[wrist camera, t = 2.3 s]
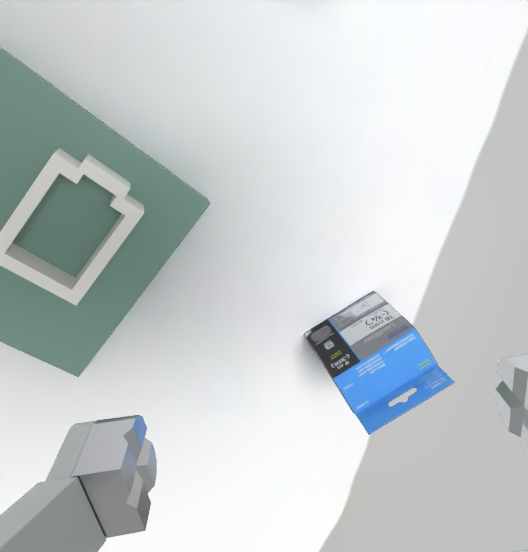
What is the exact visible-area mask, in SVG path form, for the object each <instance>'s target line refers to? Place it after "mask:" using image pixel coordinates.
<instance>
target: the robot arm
mask: <svg viewBox="0 0 528 552" xmlns="http://www.w3.org/2000/svg"><path fill="white" fill-rule="evenodd" d="M497 374H498V375H499V376H500V378H501V379H502V380H503V381H502V382H501V383H500V384H499V386H498V387H497V388H496V395H495V402H496V406H497V410H498V414H499V416H500V418H501V420H502V422H503V424H504V425H505V426H506V428H507V429H508V431H510V432H512V433H514V434H516V435H517V436H519V437H521V443H520V447H521V448H522V450H523V451H524V452H525V454H526V455H527V456H528V354H523V355H517V356H511V357H505V358H500V360H499V362H498V366H497ZM146 429H147V427H146V425H145V422H144V419H143V417H142V416H140V415H134V416H127V417H119V418H112V419H104V420H97V421H92V422H85V423H78V424H75V425H73V426H72V427H71V428H70V430H69V432H68V434H67V436H66V438H65V440H64V442H63V444H62V447H61V449H60V451H59V453H58V455H57V457H56V459H55V462H54V464H53V466H52V468H51V470H50V472H49V474H48V476H47V479H46V481H45V482H40V483H38V484H36V485H35V486H34V487H33V488H32V489H31V490H29V491H28V492H27V493H26V494H25V495H24V496H22V497H21V498H20V499H19V500H18V501H17V502H15V503H14V504H13V505H12V506H11V507H10V508H8V509H7V510H6V511H5V512H4V513H3V514H1V515H0V552H98V550H99V549H100V548H101V546H102V545H103V544H104V542H105V541H106V538H108V537H113V536H119V535H124V534H130V533H135V532H141V531H145V529H146V524H147V520H148V515H149V510H150V505H151V502H150V499H149V496H148V494H147V493H148V492H149V491H150V490H151V489H152V488H153V487H154V485H155V480H156V456H155V450H154V447H153V444H152V442H150V441H149V440H147V439H146V438H145V434H146ZM518 552H528V550H525V551H518Z"/></svg>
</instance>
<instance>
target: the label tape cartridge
mask: <svg viewBox="0 0 528 552" xmlns="http://www.w3.org/2000/svg"><path fill="white" fill-rule="evenodd" d="M304 335H305V337H306V339H307V340H308V342H309V344H310V345H311V347H312V349H313V350H314V352H315V353H316V355H317V357H318V358H319V360H320V361H321V363H322V364H323V366H324V367H325V369H326V370H327V372H328V373H329V375H330V377H331V378H332V380H333V381H334V383H335V384H336V386H337V388H338V389H339V391H340V392H341V394H342V396H343V397H344V399H345V401H346V402H347V404H348V405H349V407H350V409H351V410H352V412H353V413H354V414H355V415H356V416H357V417H358V419H359V420H360V422H361V423H362V425H363V426H364V428H365V430H366V431H367V433H368V435H370V434H371V433H373V432H374V431H376V430H378V429H379V428H381V427H382V426H384V425H385V424H387V423H389V422H391V421H392V420H394V419H396V418H397V417H399V416H401V415H402V414H404V413H406V412H407V411H409V410H410V409H412V408H414V407H416V406H417V405H419V404H421V403H422V402H424V401H425V400H427V399H429V398H430V397H432V396H433V395H435V394H437V393H438V392H440V391H442V390H444V389H445V388H447V387H448V386H450V385H452V384H453V383H455V382H454V381H453V380H452V379H451V378H450V377H449V376H448V375H447V374H446V373H445V372H444V371H443V370H442V369H441V368H440V367H439V366H438V363H437V362H436V360H435V358H434V357H433V355H432V354H431V352H430V350H429V349H428V347H427V346H426V344H425V343H424V341H423V339H422V338H421V336H420V334H419V333H418V331H417V330H416V328H415V327H414V326H413V325H412V324H410V323H409V322H408V321H407V320H406V319H405V318H404V317H403V316H402V315H401V314H400V313H399V312H398V311H396V310H395V309H394V308H393V307H392V306H391V305H390V304H389V303H387V302H386V301H385V300H384V299H383V298H382V297H381V296H380V295H378V294H377V293H376V292H372V293H370V294H368V295H367V296H365V297H364V298H362V299H360V300H359V301H357V302H355V303H354V304H352V305H351V306H349V307H347V308H346V309H344V310H342V311H341V312H339V313H337V314H336V315H334V316H333V317H331V318H329V319H328V320H326V321H324V322H323V323H321V324H319V325H318V326H316V327H315V328H313V329H311V330H310V331H308V332H306V333H305V334H304ZM412 388H416V389H417V391H416V392H415V393H414V394H412V395H411V396H409V397H408V401H407V402H405V403H402V402H399V403H397V404H396V405H394V406H392V407H389V406H388V403H389V402H390V401H392V400H393V399H395V398H397V397H399V396H400V395H402V394H404V393H405V392H407V391H408V390H410V389H412Z"/></svg>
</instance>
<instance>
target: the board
mask: <svg viewBox="0 0 528 552" xmlns="http://www.w3.org/2000/svg"><path fill="white" fill-rule="evenodd" d="M209 204H210V203H209V201H208V199H206V198H205V197H204V196H202V195H201V194H199V193H198V192H197V191H195V190H194V189H193V188H191V187H190V186H189V185H187V184H186V183H184V182H183V181H182V180H180V179H179V178H178V177H176V176H175V175H174V174H172V173H171V172H169V171H168V170H167V169H165V168H164V167H163V166H161V165H160V164H159V163H157V162H156V161H154V160H153V159H152V158H150V157H149V156H148V155H146V154H145V153H144V152H142V151H141V150H139V149H138V148H137V147H135V146H134V145H133V144H131V143H130V142H129V141H127V140H126V139H124V138H123V137H122V136H120V135H119V134H118V133H116V132H115V131H114V130H112V129H111V128H109V127H108V126H107V125H105V124H104V123H103V122H101V121H100V120H99V119H97V118H96V117H94V116H93V115H92V114H90V113H89V112H88V111H86V110H85V109H84V108H82V107H81V106H79V105H78V104H77V103H75V102H74V101H73V100H71V99H70V98H69V97H67V96H66V95H64V94H63V93H62V92H60V91H59V90H58V89H56V88H55V87H54V86H52V85H51V84H49V83H48V82H47V81H45V80H44V79H43V78H41V77H40V76H39V75H37V74H36V73H34V72H33V71H32V70H30V69H29V68H28V67H26V66H25V65H24V64H22V63H21V62H19V61H18V60H17V59H15V58H14V57H13V56H11V55H10V54H9V53H7V52H6V51H4V50H3V49H2V48H0V341H1V342H3V343H5V344H7V345H9V346H12V347H14V348H16V349H18V350H20V351H23V352H25V353H27V354H29V355H31V356H33V357H36V358H38V359H40V360H42V361H44V362H47V363H49V364H51V365H53V366H55V367H57V368H60V369H62V370H64V371H66V372H68V373H71V374H73V375H75V376H77V377H79V376H80V374H81V373H82V372H83V370H84V369H85V368H86V367H87V365H88V364H89V363H90V361H91V360H92V359H93V357H94V356H95V355H96V353H97V352H98V351H99V349H100V348H101V347H102V345H103V344H104V343H105V341H106V340H107V339H108V337H109V336H110V335H111V334H112V332H113V331H114V330H115V328H116V327H117V326H118V324H119V323H120V322H121V320H122V319H123V318H124V316H125V315H126V314H127V312H128V311H129V310H130V308H131V307H132V306H133V305H134V303H135V302H136V301H137V299H138V298H139V297H140V295H141V294H142V293H143V291H144V290H145V289H146V287H147V286H148V285H149V283H150V282H151V281H152V279H153V278H154V277H155V276H156V274H157V273H158V272H159V270H160V269H161V268H162V266H163V265H164V264H165V262H166V261H167V260H168V258H169V257H170V256H171V254H172V253H173V252H174V250H175V249H176V248H177V247H178V245H179V244H180V243H181V241H182V240H183V239H184V237H185V236H186V235H187V233H188V232H189V231H190V229H191V228H192V227H193V225H194V224H195V223H196V221H197V220H198V219H199V218H200V216H201V215H202V214H203V212H204V211H205V210H206V208H207V207H208V206H209Z"/></svg>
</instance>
